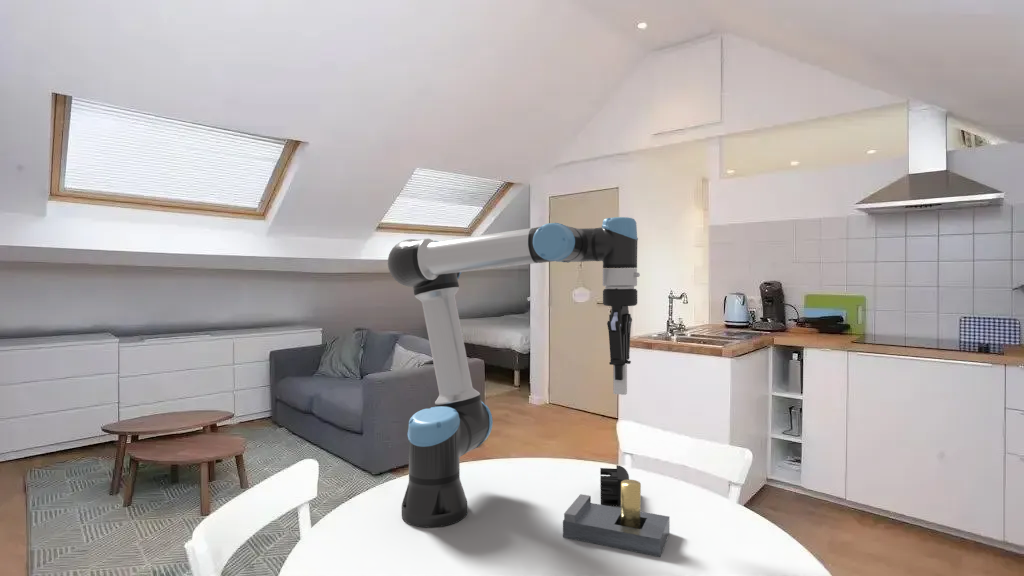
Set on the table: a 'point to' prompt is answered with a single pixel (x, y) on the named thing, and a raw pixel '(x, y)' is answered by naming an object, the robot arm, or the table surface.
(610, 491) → the end cap
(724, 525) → the table surface
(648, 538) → the jig
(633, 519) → the brass cylinder rod
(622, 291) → the robot arm
